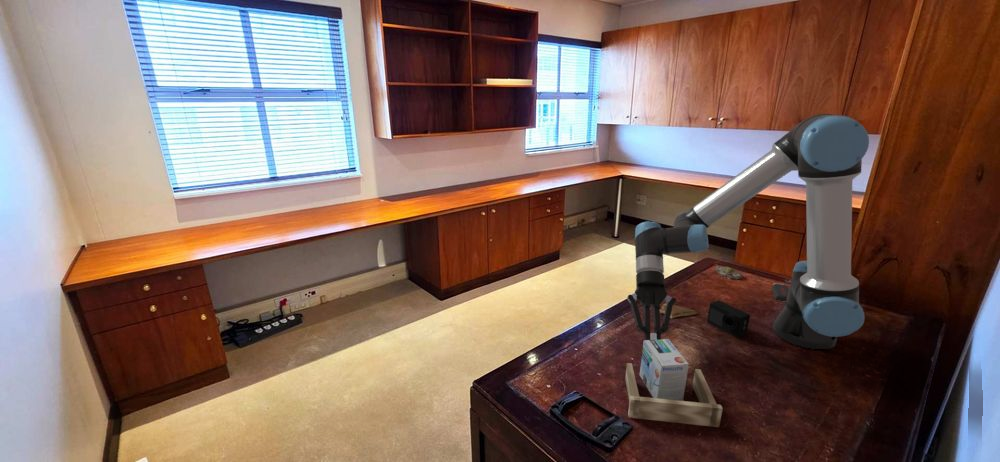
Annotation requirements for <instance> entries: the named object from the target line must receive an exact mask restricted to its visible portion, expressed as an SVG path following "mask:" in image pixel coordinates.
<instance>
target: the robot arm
mask: <svg viewBox="0 0 1000 462" xmlns="http://www.w3.org/2000/svg"><path fill="white" fill-rule="evenodd" d="M869 146H870V137H869V134H868V132H867V129H866V128H865V127H864V126H863V125H862V124H861V123H860V122H859V121H857V120H856V119H854V118H852V117H849V116H847V115H840V114H837V115H836V114H831V113H820V114H815V115H811V116H809V117H807V118H805V119H804V120H802V121H801V122H799V123H798V124H797V125H795V126H794V127H793V128H792V129H791V130H789V131H788V132H787V133H785V134H784V135H783V136H782V137H781V138H779V139H778V140H776V141H775V142H774V143H772V146H771V147H772V148H771V149H770V150H769V151H767V153H765V154H764V155H762V156H761V157H760V158H758V159H757V160H756V161H754V162H753V163H751V164H750V165H749V166H748V167H746V168H745V169H743V170H742V171H741V172H739V173H738V174H737V175H735V176H733V177H732V178H731V179H730V180H728V181H727V182H725V183H724V184H723V185H722V186H720V187H719V188H717V189H716V190H715V191H713V192H712V193H710V194H709V195H707V196H706V197H704V198H703V199H702V200H701V201H699V202H698V203H696V204H695V205H693V207H692V208H690V209H689V210H687V211H683V212H681V213H679V214H678V215H677V216H676V218H675V220H673V227H666V228H663V227H662V225H661V224H660V223H658V221H657V222H656V221H648V220H647V221H643V222H639V224H637V225H636V227H635V230H634V231H635V235H634V249H635V272H636V275H635V281H636V282H635V285H636V288H635V290H634V293H632V294H628V296H627V298H626V300H627V302H628V304H629V305H630V307H631V311H632V314H633V318H634V322H635V325H636V329H637V332H640V333H641V332H642V333H643V334H644V340H660V339H662V338H661V335H662V334H666V332H667V331H668V330H669V325H670V321H671V318H670V316H671V311H672V306H673V305H674V304H675V303H676V301H677V299H676V297H671V296H670V295H668V292H667V290H666V285H665V274H664V273H665V269H664V266H665V265H664V255H672V254H686V253H687V254H688V253H700V252H706V251H707V250H708V249H709V238H708V237H709V236H708V228H710V227H711V226H712V225H713V224H715V223H716V222H718V221H719V220H721V219H722V218H724V217H725V216H727V215H728V214H729V215H730V213H732V212H733V211H735V210H736V209H738V208H739V207H741V206H742V205H744V204H745V203H746V202H748V201H749V200H751V199H752V198H755V196H756V195H758V194H760V193H761V192H763V191H764V190H766V189H767V188H768V187H770V186H771V185H774V183H776V182H777V181H779V180H780V179H782V178H783V177H784V176H786V175H787V174H789V173H790V172H793V171H796V172H797V175H798V178H799V179H801V180H802V181H803V182H805V195H806V196H805V197H806V198H805V201H806V204H805V205H806V208H805V209H806V210H805V211H806V213H805V214H806V218H805V219H806V260H801V261H798V262H796V263H795V265H794V268H793V269H792V274H791V275H792V276H791V280H790V284H789V287H788V288H789V292H788V297H787V301H786V302H785V305H784V307H783V309H782V310H781V311H780V313H778V316H777V317H776V318H775V319H774V322H773V327H772V330H773V329H774V330H773V332H774V331H775V332H774V333H775V334H776V335H777V336H778V337H779V336H780V337H779V338H781V339H782V338H783V339H782V340H784V341H786V342H787V343H790V344H792V345H794V346H797V345H798V347H800V346H801V348H804V347H805V348H804V349H808V348H811V349H810V350H814V349H828V350H830V349H829V348H831V349H833V348H835V346H836V344H837V341H838V340H837V339H838V337H840V338H841V337H845V336H849V335H851V334H853V333H855V332H857V331H858V330H859V329H861V328H862V326H863V325H864V323H865V312H864V309H863V307H862V305H860V296H859V295H860V281H859V280H858V279H857V278H856V277H855V276H853V275H852V238H853V237H852V236H853V235H852V231H853V229H852V228H853V227H852V224H853V223H852V222H853V221H852V220H853V219H852V218H853V180H854V179H856V178H857V176H859V175H860V174H862V162H863V160H862V159H864V157H865V155H866V153H867V152H868V149H869ZM637 300H639V302H640V303H641V304H642V309H643V310H642V311H643V321H642V316H641V315H640V314H641V313H640V310H639V307H638V304H637ZM664 300H665V304H667V306H666V309H665V314H663V319H662V324H661V313H660V309H661V304H662V302H664ZM651 307H652V311H653V313H652V314H653V332H651V328H652V327H651V310H650V309H651ZM832 347H833V348H832Z"/></svg>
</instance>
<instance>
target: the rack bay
mask: <svg viewBox="0 0 1000 462" xmlns="http://www.w3.org/2000/svg"><path fill="white" fill-rule="evenodd" d="M693 375H694V376H693V379H692V381H693V382H692V385H691V386H692V388H693V391H694V393H695V395H696V398H697V400H698V402H696V401H688V400H687V401H685V400H683V401H678V400H668V399H658V398H653V397H648V396H640V394H639V388H638V385H637V382H636V381H637V380H636V375H635V372H634V367H633V363H631V362H626V369H625V376H624V377H625V378H624V381H625V385H626V386H625V387H626V390H627V396H628V401H629V402H628V411H627V415H628V418H631V419H639V420H648V421H649V420H650V421H659V422H667V423H676V424H677V423H678V424H684V425H685V424H686V425H693V426H694V425H695V426H703V427H705V426H706V427H712V428H719V427H720V424H721V418H722V414H723V406H722V405H721V404H717V402H716V399H715V398H714V395H713V393H712V392H711V389H710V387H709V385H708V382H707V380H706V379H705V376H704V374H703V372H702V369H700V368H699V369H698V368H695V369H694V374H693Z"/></svg>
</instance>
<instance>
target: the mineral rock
mask: <svg viewBox="0 0 1000 462" xmlns="http://www.w3.org/2000/svg"><path fill="white" fill-rule="evenodd" d="M715 272H716V273H717V274H719V275H721V277H723V278H725V279H728V280H740V279H742V278H743V275H742V272H741V271H739V270H736V269H733V268H732V267H729V266H728V265H727V266H721V265H717V266H716V267H715Z"/></svg>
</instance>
